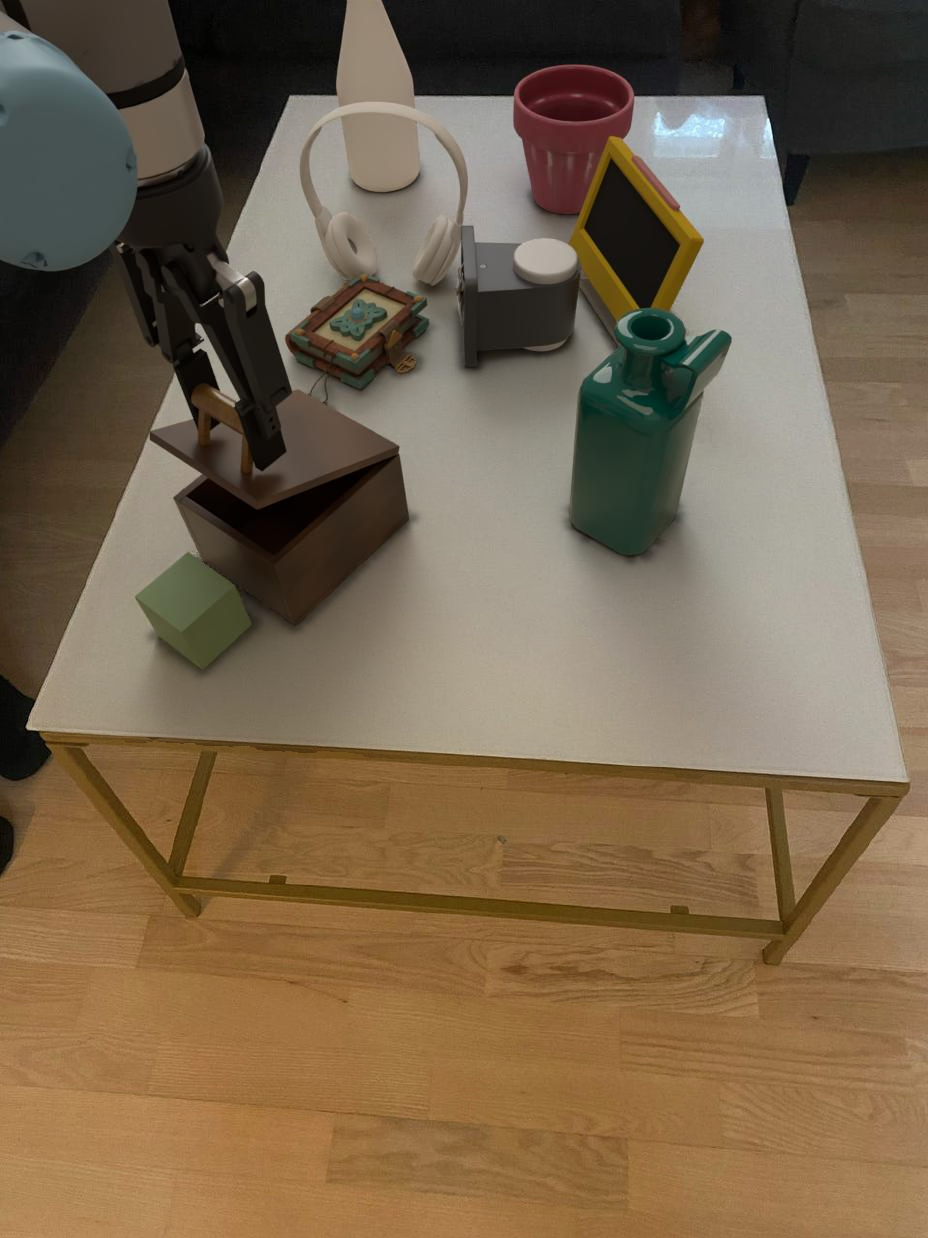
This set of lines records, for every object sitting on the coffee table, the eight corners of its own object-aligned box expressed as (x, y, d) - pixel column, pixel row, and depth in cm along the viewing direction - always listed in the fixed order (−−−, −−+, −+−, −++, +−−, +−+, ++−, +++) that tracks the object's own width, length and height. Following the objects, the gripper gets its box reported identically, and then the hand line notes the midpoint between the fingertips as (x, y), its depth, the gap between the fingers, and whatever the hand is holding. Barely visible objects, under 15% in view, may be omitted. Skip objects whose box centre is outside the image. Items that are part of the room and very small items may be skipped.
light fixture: (577, 368, 98) (589, 281, 89) (457, 371, 98) (456, 284, 89) (567, 306, 105) (577, 218, 96) (453, 308, 104) (453, 221, 95)
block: (202, 670, 78) (181, 632, 73) (157, 635, 80) (134, 596, 75) (252, 624, 81) (235, 584, 76) (207, 592, 83) (187, 551, 78)
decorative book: (257, 383, 99) (246, 345, 95) (357, 296, 107) (351, 259, 102) (351, 428, 94) (344, 391, 90) (449, 335, 102) (446, 297, 98)
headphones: (467, 299, 105) (458, 126, 89) (315, 292, 107) (278, 122, 91) (475, 262, 109) (468, 90, 93) (329, 256, 111) (295, 87, 95)
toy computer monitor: (565, 272, 107) (572, 140, 94) (626, 257, 108) (641, 124, 95) (633, 378, 96) (652, 245, 83) (700, 361, 97) (729, 227, 84)
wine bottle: (369, 202, 118) (329, -72, 93) (339, 169, 122) (294, -100, 98) (433, 180, 120) (411, -94, 95) (401, 148, 125) (372, -120, 100)
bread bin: (296, 626, 80) (274, 566, 73) (202, 560, 85) (172, 497, 78) (409, 518, 87) (399, 453, 79) (316, 462, 92) (298, 396, 84)
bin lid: (257, 510, 68) (262, 441, 64) (149, 439, 72) (148, 372, 69) (398, 453, 79) (409, 392, 76) (297, 396, 84) (303, 336, 81)
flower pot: (644, 184, 117) (657, 80, 106) (587, 239, 111) (595, 134, 100) (551, 154, 122) (554, 52, 111) (492, 204, 116) (489, 102, 105)
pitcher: (560, 522, 85) (571, 331, 67) (610, 470, 89) (634, 274, 71) (647, 572, 82) (685, 384, 64) (696, 515, 85) (746, 321, 67)
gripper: (304, 175, 51) (361, 465, 70) (94, 84, 58) (198, 369, 77) (204, 239, 48) (292, 524, 67) (-4, 135, 55) (129, 418, 74)
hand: (241, 440), depth 72 cm, fingers closed on bin lid, 6 cm apart
